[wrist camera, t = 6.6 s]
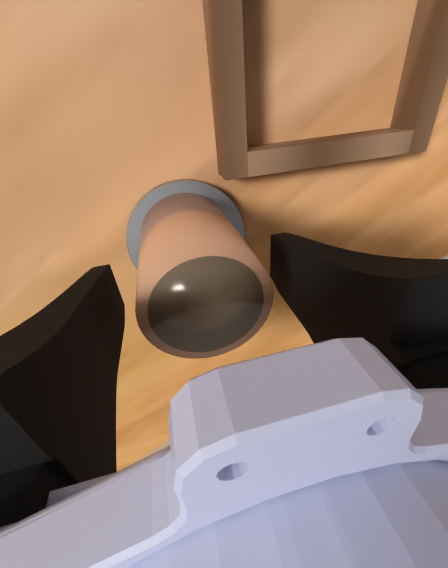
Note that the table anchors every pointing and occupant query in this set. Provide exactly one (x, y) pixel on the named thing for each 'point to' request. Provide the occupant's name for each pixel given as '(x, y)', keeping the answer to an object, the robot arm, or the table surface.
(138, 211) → the glossy gray dome
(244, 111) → the frame
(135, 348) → the table surface
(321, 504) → the robot arm
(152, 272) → the clay pot
